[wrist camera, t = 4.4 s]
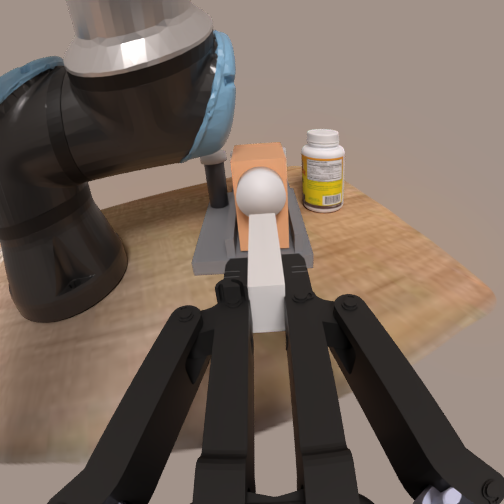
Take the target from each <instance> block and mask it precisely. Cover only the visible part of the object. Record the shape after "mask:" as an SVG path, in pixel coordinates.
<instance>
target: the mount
mask: <svg viewBox="0 0 504 504" xmlns="http://www.w3.org/2000/svg"><path fill="white" fill-rule="evenodd" d="M283 151H284V154H285V156H286V149H285V148H283ZM232 153H233V151H231V153H230V156H231V158H232ZM286 167H287V165H286ZM287 192H288V224H289V248H280V252H281V254H296V253H299V254H300V255H301V256H302V257H303V258H304V259H305V262H306V266H307V268H313V252H312V248H311V245H310V241H309V238H308V235H307V231H306V228H305V225H304V222H303V218H302V215H301V212H300V209H299V205H298V202H297V199H296V196H295V193H294V190H293V188H290V186H289V183H288V180H287ZM227 194H228V202H229V204H228V206H226V207H224V208H219V209H215V208H212V207H211V206H210V202H209V205H208V208H207V211H206V215H205V218H204V222H203V225H202V228H201V232H200V235H199V239H198V242H197V246H196V249H195V253H194V256H193V260H192V266H193V271H194V275H209V274H224V273H225V265H226V263H227V262H228V261H229V260H230V259H232V258H247V257H248V251H241V249H240V240H239V232H238V223H237V215H236V206H235V197H234V188H233V189H232V192H229V193H227Z"/></svg>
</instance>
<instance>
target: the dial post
mask: <svg viewBox="0 0 504 504" xmlns="http://www.w3.org/2000/svg"><path fill="white" fill-rule="evenodd" d="M226 160H227V158H226V151H224V150H219V151H217V152H215V153H213V154H211V155H206V156H202V157H200V161H201V164H204V166H205V172H206V179H207V186H208V193H209V200H210V206H211V207H212V208H215V209H219V208H224V207H226V206H228V204H229V202H228V194H227V186H226V177H225V170H224V161H226Z"/></svg>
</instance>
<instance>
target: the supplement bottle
mask: <svg viewBox="0 0 504 504" xmlns="http://www.w3.org/2000/svg"><path fill="white" fill-rule="evenodd" d="M307 143H308V144H306V145H305V146H304V147H303V148H302V185H303V204H304V205H305V207H306V208H308V209H309V210H312V211H315V212H320V213H329V212H334V211H337V210H339V209H340V208H341V207H342V205H343V200H344V173H345V150H344V148H343V147H341V146H340V145H338V144H339V133H338V132H337V131H335V130H329V129H313V130H309V131H308V132H307Z"/></svg>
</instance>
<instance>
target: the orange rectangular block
mask: <svg viewBox="0 0 504 504" xmlns="http://www.w3.org/2000/svg"><path fill="white" fill-rule="evenodd" d="M231 171H232V180H233V188H234V197H235V206H236V215H237V223H238V232H239V240H240V249H241V251H248V240H249V215H253V214H268V213H275V217H276V224H277V231H278V238H279V245H280V248H289V224H288V192H287V167H286V156H285V154H284V151H283V148H282V146H281V143H280V142H274V143H259V144H246V145H235V146H234V149H233V153H232V158H231Z"/></svg>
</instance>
